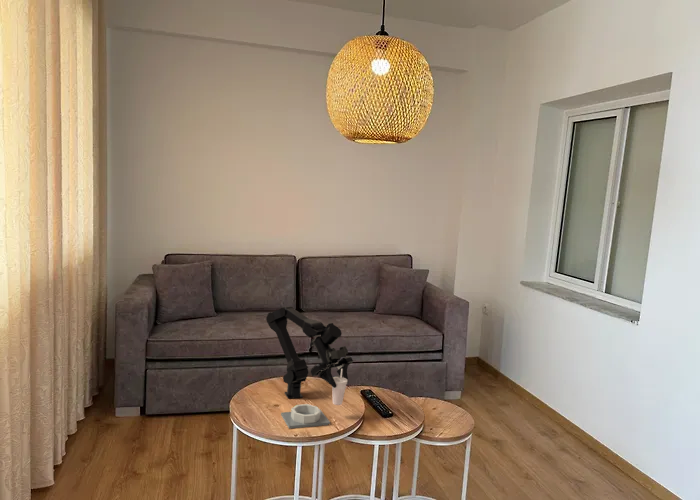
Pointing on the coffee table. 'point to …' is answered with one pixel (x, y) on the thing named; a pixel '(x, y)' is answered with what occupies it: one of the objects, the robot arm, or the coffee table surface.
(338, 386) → the smoothie
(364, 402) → the coffee table surface
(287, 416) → the bottle stand
